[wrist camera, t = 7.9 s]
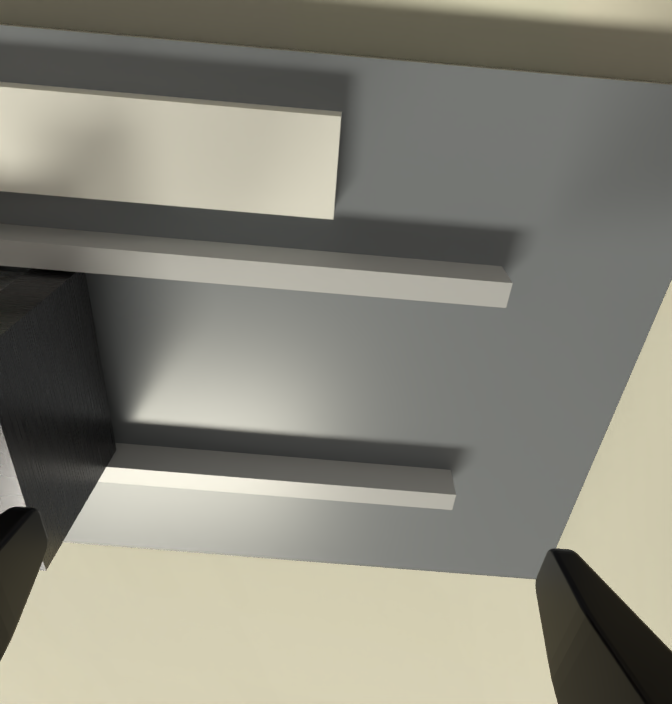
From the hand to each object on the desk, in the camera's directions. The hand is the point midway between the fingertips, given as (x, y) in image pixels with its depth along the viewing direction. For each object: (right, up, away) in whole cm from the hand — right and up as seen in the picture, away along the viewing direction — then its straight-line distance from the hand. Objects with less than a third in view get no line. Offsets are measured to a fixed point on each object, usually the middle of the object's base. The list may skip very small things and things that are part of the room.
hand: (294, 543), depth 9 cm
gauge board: (-4, +4, +6) cm, 8 cm away
